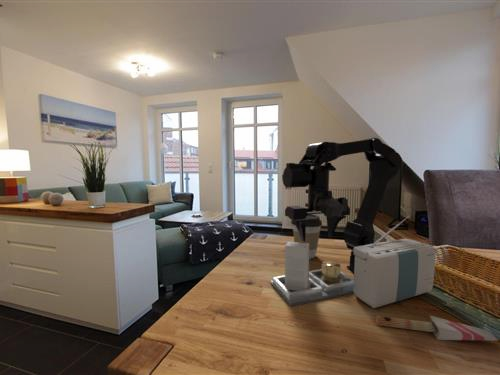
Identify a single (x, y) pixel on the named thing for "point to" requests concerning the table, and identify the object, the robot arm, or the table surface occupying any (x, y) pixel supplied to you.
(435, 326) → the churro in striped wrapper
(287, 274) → the skincare box
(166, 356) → the table surface
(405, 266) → the white boxy appliance
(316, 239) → the coffee cup
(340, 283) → the grey divided tray
